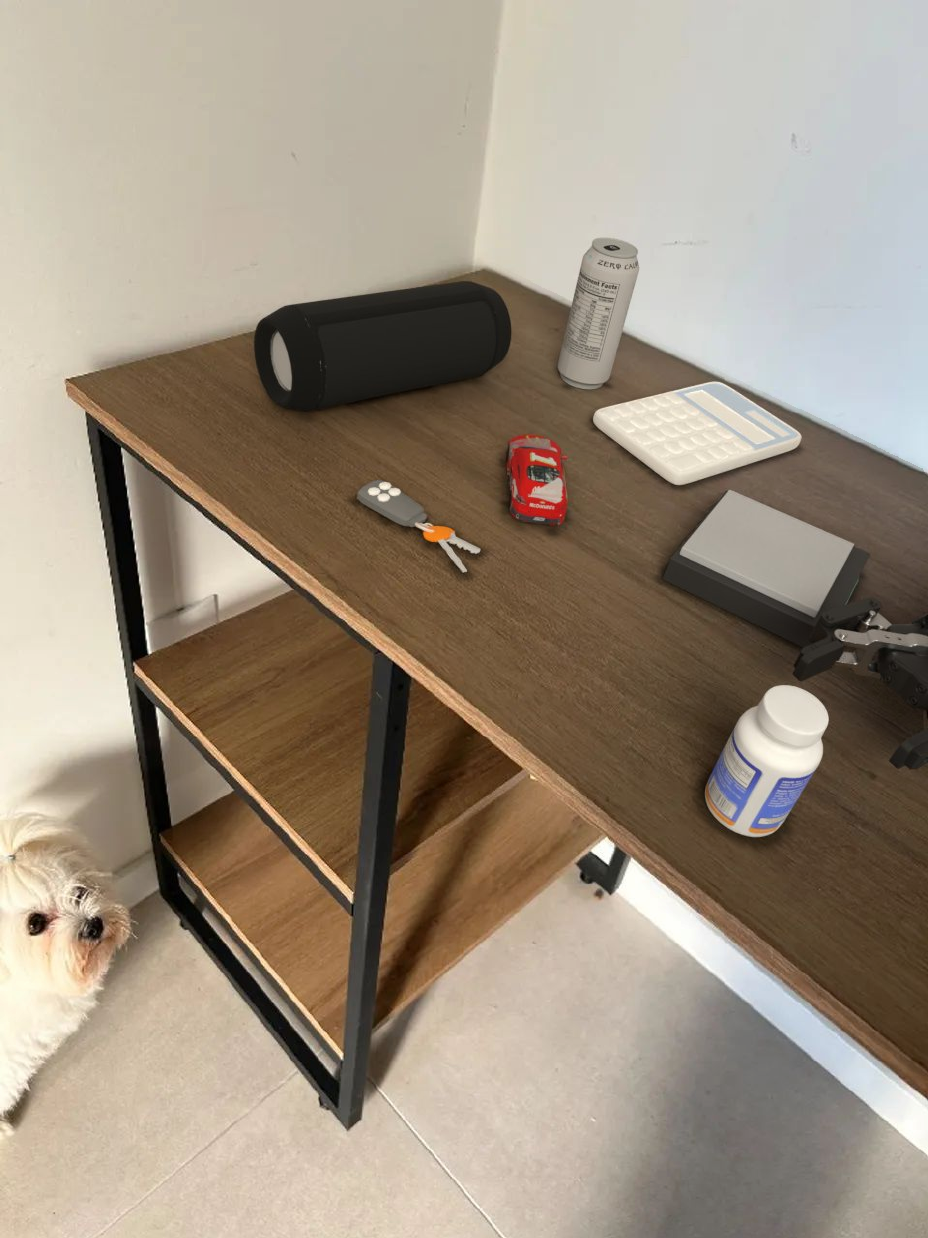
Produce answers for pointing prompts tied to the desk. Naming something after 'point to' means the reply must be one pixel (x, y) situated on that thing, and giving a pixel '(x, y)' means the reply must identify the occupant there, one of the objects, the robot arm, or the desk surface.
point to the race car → (536, 480)
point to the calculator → (696, 431)
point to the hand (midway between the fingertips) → (847, 711)
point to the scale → (766, 567)
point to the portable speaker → (380, 343)
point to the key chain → (410, 516)
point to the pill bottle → (767, 761)
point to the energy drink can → (598, 312)
